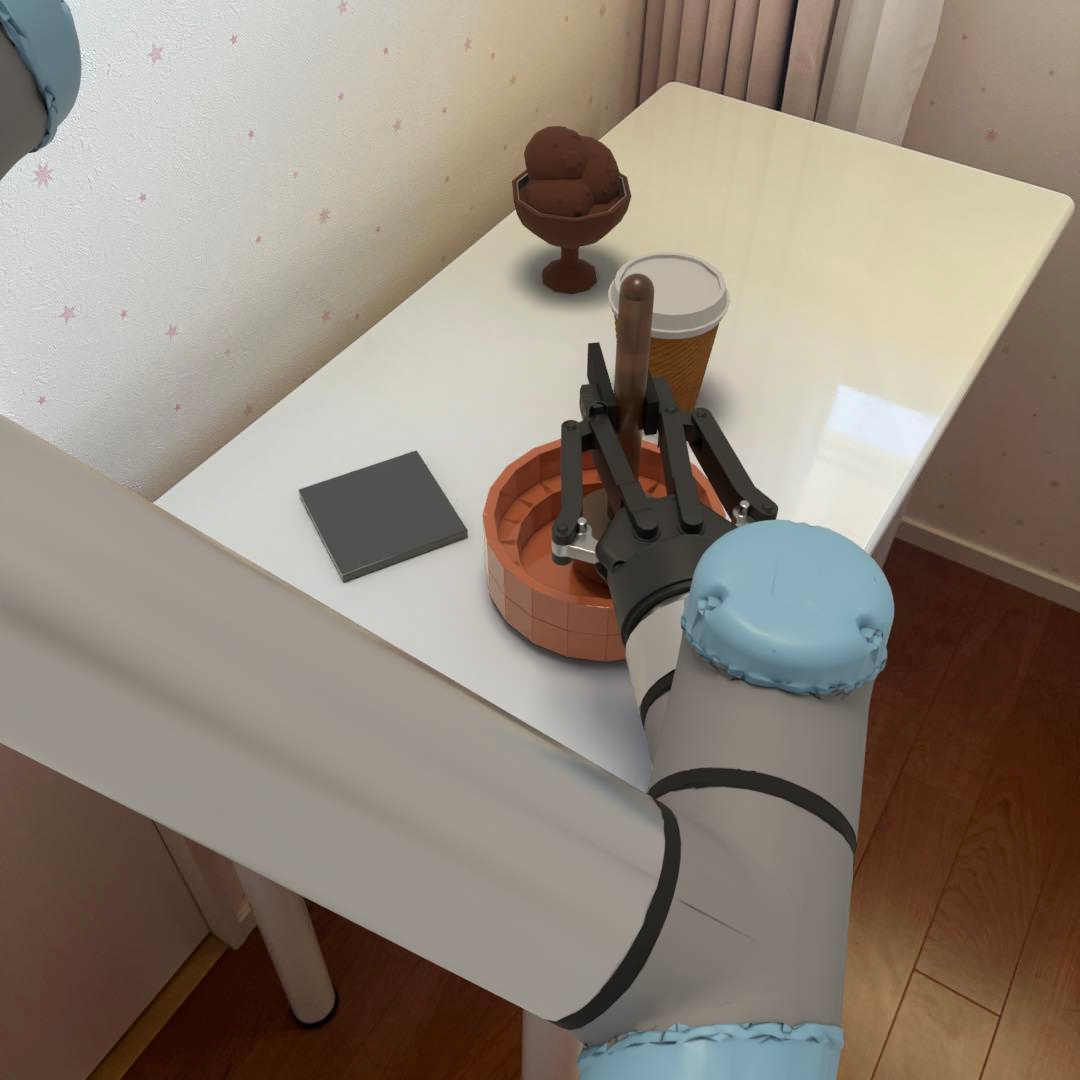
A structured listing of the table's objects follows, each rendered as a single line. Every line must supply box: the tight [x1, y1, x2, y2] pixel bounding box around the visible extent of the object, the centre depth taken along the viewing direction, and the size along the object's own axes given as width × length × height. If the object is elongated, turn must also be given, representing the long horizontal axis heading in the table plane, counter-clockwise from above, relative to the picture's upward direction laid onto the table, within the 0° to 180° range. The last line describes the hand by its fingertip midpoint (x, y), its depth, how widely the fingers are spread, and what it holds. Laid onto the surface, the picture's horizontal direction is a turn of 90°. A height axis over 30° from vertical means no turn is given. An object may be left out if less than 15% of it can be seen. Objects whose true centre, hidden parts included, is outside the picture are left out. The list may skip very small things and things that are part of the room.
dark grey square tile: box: [298, 449, 469, 583], centre depth 85 cm, size 10×10×1 cm
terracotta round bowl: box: [482, 438, 727, 662], centre depth 78 cm, size 17×17×6 cm
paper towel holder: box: [573, 273, 655, 585], centre depth 71 cm, size 7×7×23 cm
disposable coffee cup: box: [607, 251, 731, 412], centre depth 90 cm, size 10×10×12 cm
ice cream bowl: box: [511, 125, 632, 295], centre depth 102 cm, size 11×11×15 cm
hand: (612, 357), depth 74 cm, fingers closed on paper towel holder, 2 cm apart
